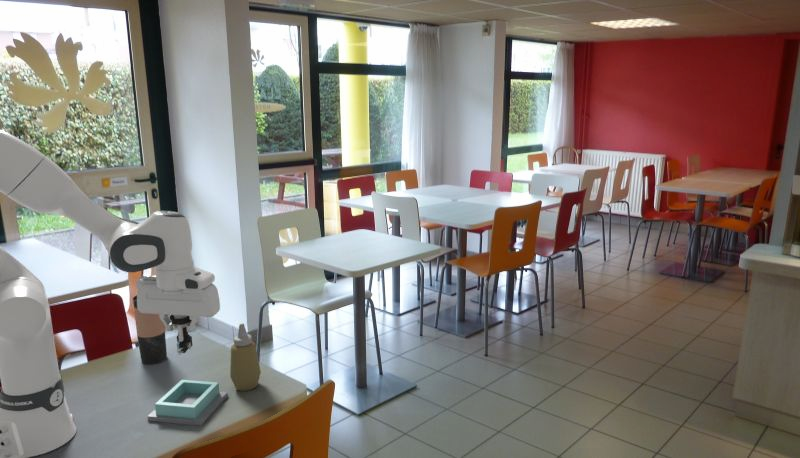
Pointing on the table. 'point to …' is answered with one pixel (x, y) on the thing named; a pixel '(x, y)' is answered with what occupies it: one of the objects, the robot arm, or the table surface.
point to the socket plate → (188, 403)
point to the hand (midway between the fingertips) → (180, 330)
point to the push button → (182, 332)
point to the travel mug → (150, 336)
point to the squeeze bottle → (244, 361)
